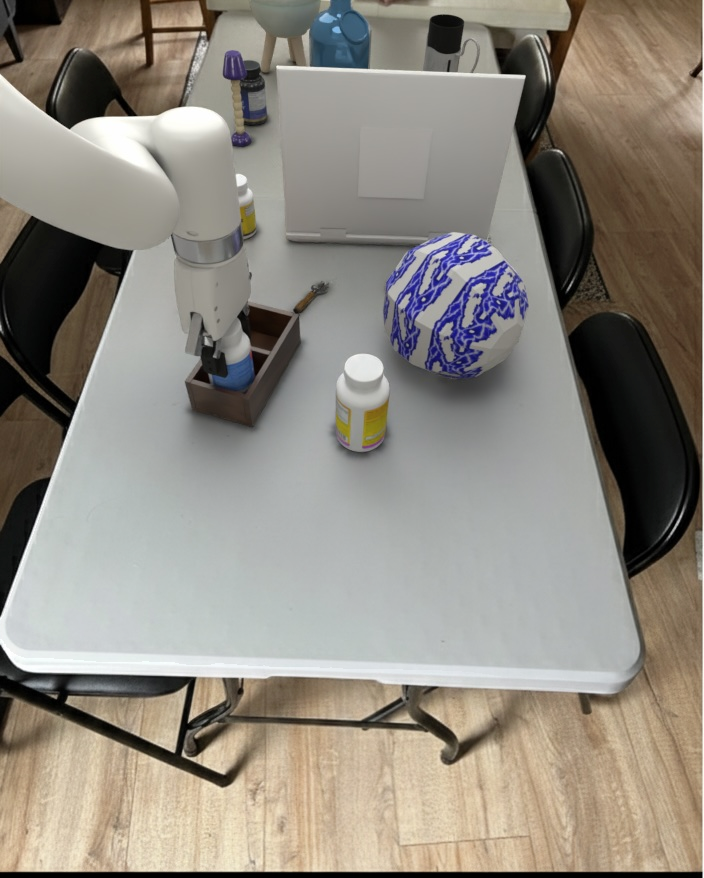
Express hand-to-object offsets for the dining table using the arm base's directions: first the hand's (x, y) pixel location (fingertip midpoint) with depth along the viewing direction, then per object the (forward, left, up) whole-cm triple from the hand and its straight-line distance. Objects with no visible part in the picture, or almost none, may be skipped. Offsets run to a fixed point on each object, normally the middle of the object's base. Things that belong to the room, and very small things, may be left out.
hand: (228, 354), depth 81 cm
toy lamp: (+5, +71, -8) cm, 71 cm away
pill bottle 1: (0, 0, -6) cm, 6 cm away
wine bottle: (+28, +86, -8) cm, 91 cm away
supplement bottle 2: (+16, -9, -8) cm, 20 cm away
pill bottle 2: (+8, +80, -8) cm, 81 cm away
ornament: (+31, +4, -8) cm, 32 cm away
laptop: (+30, +44, -8) cm, 54 cm away
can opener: (+13, +19, -8) cm, 24 cm away
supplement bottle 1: (+3, +39, -8) cm, 40 cm away
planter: (+18, +104, -8) cm, 106 cm away
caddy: (+2, +4, -8) cm, 9 cm away
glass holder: (+53, +86, -8) cm, 101 cm away
